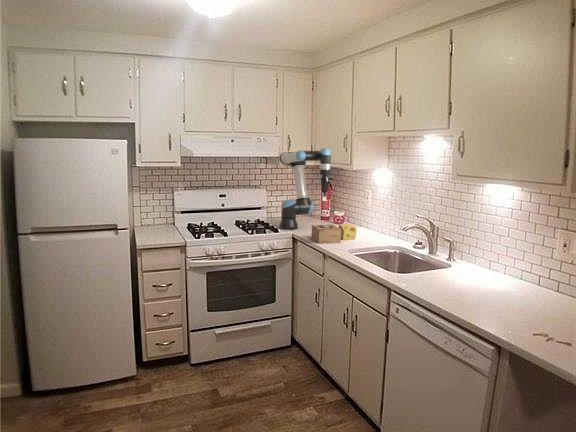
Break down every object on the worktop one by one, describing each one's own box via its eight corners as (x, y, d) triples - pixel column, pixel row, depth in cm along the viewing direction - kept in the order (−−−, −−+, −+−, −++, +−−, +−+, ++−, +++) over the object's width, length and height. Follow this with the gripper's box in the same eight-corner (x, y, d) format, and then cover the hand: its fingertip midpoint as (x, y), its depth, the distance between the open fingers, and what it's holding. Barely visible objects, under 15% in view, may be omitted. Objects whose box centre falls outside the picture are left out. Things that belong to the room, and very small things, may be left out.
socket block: (311, 238, 311) (311, 224, 310) (332, 237, 315) (332, 223, 313) (318, 243, 294) (319, 229, 292) (340, 243, 298) (341, 228, 296)
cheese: (343, 240, 307) (343, 226, 305) (337, 237, 317) (337, 224, 315) (356, 239, 310) (356, 226, 308) (350, 236, 320) (350, 223, 318)
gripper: (317, 168, 321) (316, 199, 325) (323, 169, 308) (321, 201, 312) (327, 168, 323) (326, 199, 326) (332, 169, 310) (331, 201, 314)
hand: (324, 200), depth 319 cm, fingers closed
